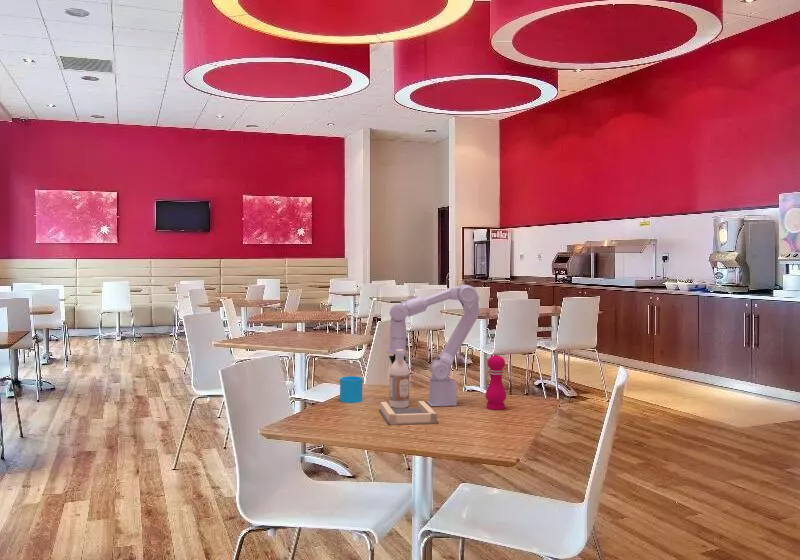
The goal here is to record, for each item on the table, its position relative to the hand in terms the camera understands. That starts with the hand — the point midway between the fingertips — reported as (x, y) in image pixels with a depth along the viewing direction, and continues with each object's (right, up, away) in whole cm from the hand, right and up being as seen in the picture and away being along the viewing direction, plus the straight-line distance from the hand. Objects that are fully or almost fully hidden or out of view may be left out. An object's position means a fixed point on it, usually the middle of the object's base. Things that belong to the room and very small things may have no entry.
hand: (397, 375), depth 243 cm
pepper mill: (+34, -11, -5) cm, 36 cm away
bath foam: (+1, -10, -4) cm, 11 cm away
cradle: (+4, -11, -19) cm, 22 cm away
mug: (-17, -10, +8) cm, 21 cm away
